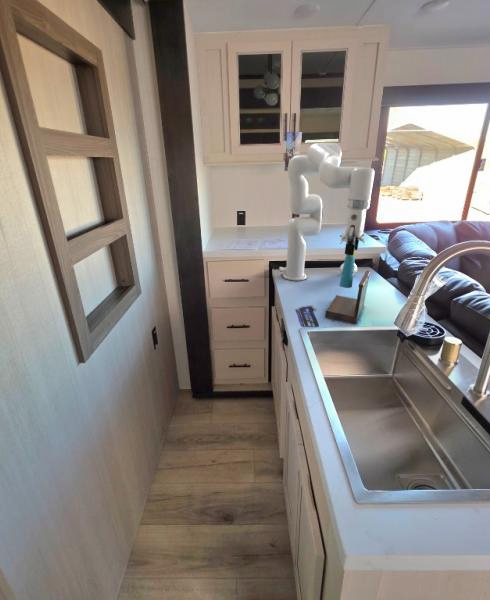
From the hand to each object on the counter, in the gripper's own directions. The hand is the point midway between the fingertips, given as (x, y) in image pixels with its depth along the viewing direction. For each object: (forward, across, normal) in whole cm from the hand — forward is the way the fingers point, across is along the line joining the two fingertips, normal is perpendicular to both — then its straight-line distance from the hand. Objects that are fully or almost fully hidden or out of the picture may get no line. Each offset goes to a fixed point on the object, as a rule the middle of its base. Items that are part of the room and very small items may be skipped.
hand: (351, 251), depth 121 cm
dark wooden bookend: (+26, 0, -1) cm, 26 cm away
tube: (+14, 0, 0) cm, 14 cm away
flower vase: (+26, +49, +8) cm, 56 cm away
